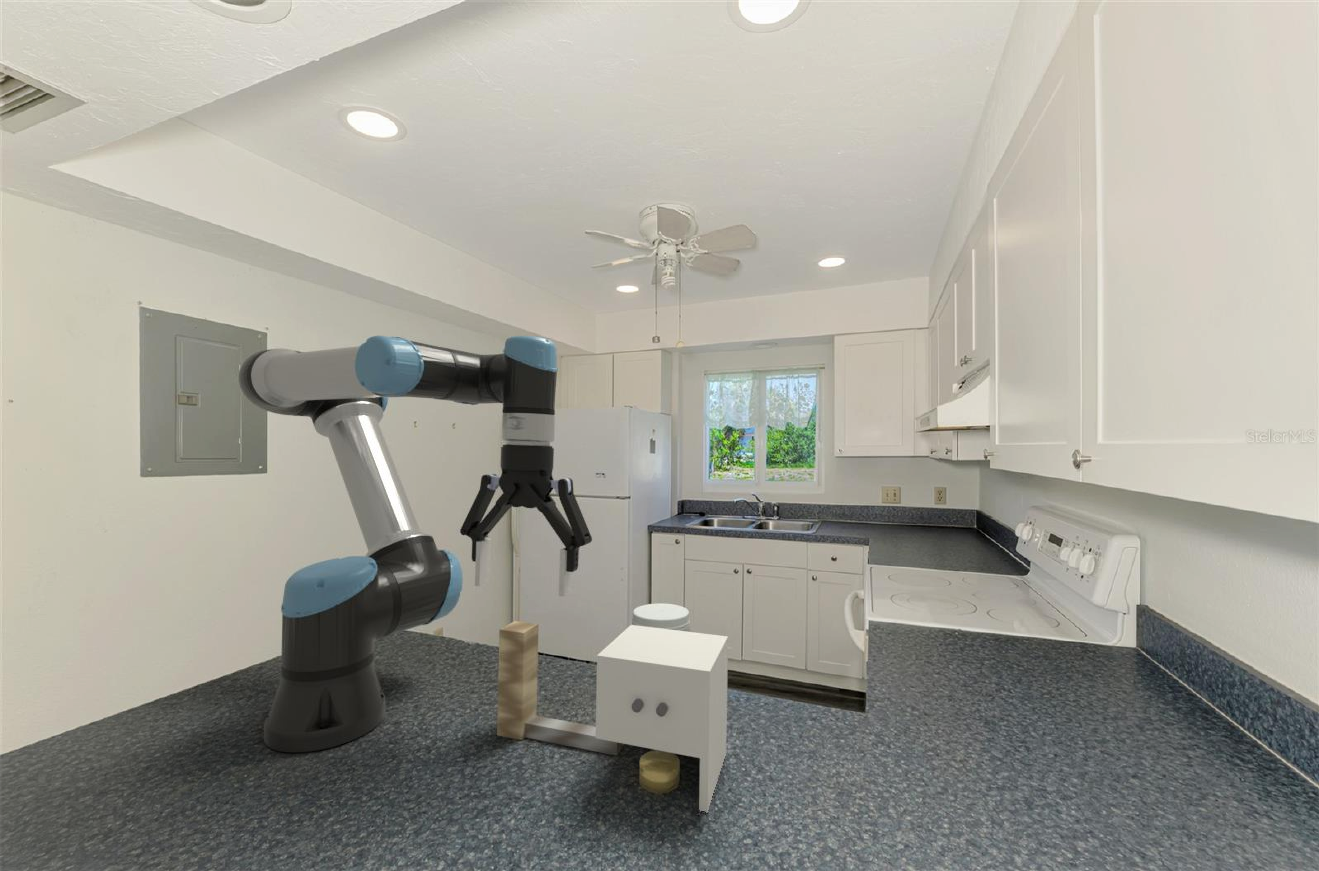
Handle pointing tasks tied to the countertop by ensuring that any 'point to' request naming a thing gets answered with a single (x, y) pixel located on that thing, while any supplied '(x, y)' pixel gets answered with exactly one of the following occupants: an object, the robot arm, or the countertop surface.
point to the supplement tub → (662, 617)
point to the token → (659, 771)
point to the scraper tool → (534, 696)
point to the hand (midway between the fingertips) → (522, 588)
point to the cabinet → (666, 696)
